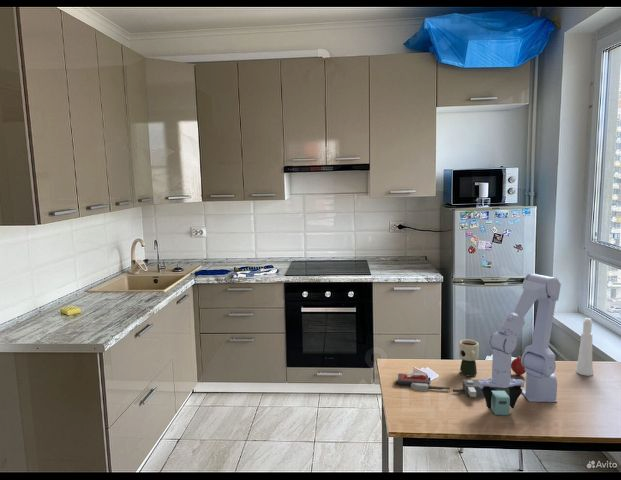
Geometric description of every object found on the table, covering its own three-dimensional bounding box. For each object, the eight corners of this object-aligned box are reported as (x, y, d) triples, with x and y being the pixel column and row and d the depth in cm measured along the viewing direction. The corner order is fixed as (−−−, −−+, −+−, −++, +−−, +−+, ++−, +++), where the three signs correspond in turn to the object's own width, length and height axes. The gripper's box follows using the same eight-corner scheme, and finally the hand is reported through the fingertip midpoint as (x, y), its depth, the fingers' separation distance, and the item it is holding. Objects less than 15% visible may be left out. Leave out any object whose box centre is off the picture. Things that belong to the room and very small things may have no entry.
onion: (512, 371, 184) (513, 351, 183) (528, 374, 181) (529, 355, 180) (509, 376, 180) (509, 356, 179) (525, 380, 176) (526, 360, 175)
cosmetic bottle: (573, 368, 185) (576, 315, 181) (589, 369, 184) (593, 316, 180) (578, 375, 179) (582, 320, 176) (596, 376, 178) (599, 321, 174)
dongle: (472, 390, 165) (472, 385, 165) (476, 396, 161) (476, 391, 161) (467, 390, 165) (467, 385, 165) (470, 396, 161) (470, 391, 161)
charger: (502, 404, 159) (502, 387, 158) (509, 415, 152) (510, 398, 151) (488, 404, 159) (489, 387, 158) (495, 415, 152) (495, 398, 151)
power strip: (509, 390, 169) (510, 378, 168) (515, 397, 164) (515, 385, 163) (451, 389, 171) (451, 377, 170) (454, 396, 165) (455, 384, 164)
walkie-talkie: (394, 389, 173) (450, 393, 168) (394, 378, 172) (450, 382, 168) (395, 379, 181) (448, 382, 177) (395, 368, 180) (448, 371, 176)
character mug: (454, 368, 188) (455, 337, 186) (472, 367, 188) (473, 337, 186) (463, 380, 178) (464, 348, 176) (482, 379, 178) (483, 347, 176)
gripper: (518, 363, 156) (516, 400, 158) (475, 364, 156) (474, 401, 158) (528, 372, 149) (526, 411, 151) (482, 373, 149) (481, 412, 151)
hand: (500, 407), depth 154 cm, fingers open, 7 cm apart
